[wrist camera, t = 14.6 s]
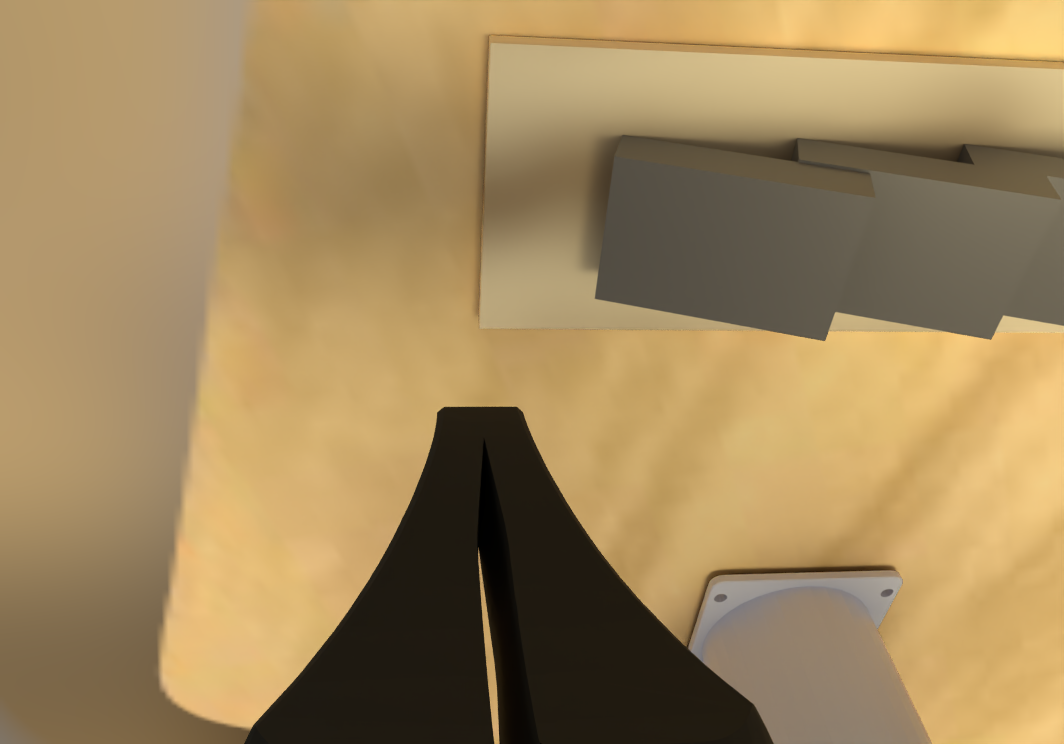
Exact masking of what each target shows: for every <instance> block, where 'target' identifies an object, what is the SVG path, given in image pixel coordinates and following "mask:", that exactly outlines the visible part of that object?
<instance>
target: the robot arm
mask: <svg viewBox="0 0 1064 744" xmlns="http://www.w3.org/2000/svg"><path fill="white" fill-rule="evenodd" d="M478 547H479V554H480V561H481V568H482V576H483V583H484V590H485V597H486V605H487V612H488V619H489V626H490V633H491V640H492V647H493V655H494V662H495V671H496V682H497V696H498V719H499V741H500V744H932V742H931V740H930V738H929V736H928V734H927V732H926V730H925V728H924V725H923V723H922V721H921V719H920V717H919V715H918V713H917V711H916V709H915V707H914V705H913V703H912V700H911V698H910V696H909V694H908V692H907V690H906V688H905V686H904V684H903V682H902V680H901V678H900V675H899V673H898V671H897V669H896V667H895V665H894V663H893V661H892V659H891V657H890V655H889V653H888V651H887V648H886V646H885V644H884V642H883V640H882V638H881V636H880V634H879V632H878V630H877V629H878V628H879V626H880V624H881V622H882V620H883V618H884V617H885V615H886V613H887V611H888V609H889V607H890V606H891V604H892V602H893V600H894V598H895V596H896V595H897V593H898V591H899V589H900V587H901V585H902V583H903V580H902V578H901V576H900V574H899V572H897V571H893V570H881V571H844V572H807V573H771V574H734V575H718V576H716V577H714V578H713V579H711V580H710V582H709V584H708V587H707V590H706V593H705V596H704V600H703V603H702V606H701V609H700V612H699V615H698V618H697V622H696V625H695V628H694V631H693V634H692V637H691V640H690V644H689V647H688V648H687V647H685V646H684V645H683V644H682V643H681V642H680V641H679V640H678V639H677V638H676V637H675V636H674V635H673V634H672V633H671V632H670V631H669V630H668V629H667V628H666V627H665V626H664V625H663V624H662V623H661V622H660V621H659V620H658V619H657V618H656V616H655V615H654V614H653V613H652V612H651V611H650V610H649V609H648V608H647V607H646V606H645V605H644V604H643V603H642V602H641V601H640V600H639V599H638V598H637V596H636V595H635V594H634V593H633V592H632V591H631V589H630V588H629V587H628V586H627V585H626V584H625V582H624V581H623V580H622V579H621V578H620V577H619V575H618V574H617V573H616V571H615V570H614V569H613V568H612V566H611V565H610V564H609V563H608V561H607V560H606V559H605V558H604V556H603V555H602V554H601V552H600V551H599V550H598V548H597V547H596V545H595V544H594V543H593V541H592V540H591V538H590V537H589V536H588V534H587V533H586V531H585V530H584V528H583V527H582V525H581V524H580V522H579V521H578V519H577V518H576V516H575V515H574V513H573V512H572V510H571V508H570V507H569V505H568V504H567V502H566V500H565V499H564V497H563V495H562V493H561V492H560V490H559V488H558V486H557V485H556V483H555V481H554V480H553V478H552V476H551V474H550V472H549V471H548V469H547V467H546V465H545V463H544V461H543V459H542V457H541V455H540V453H539V451H538V449H537V447H536V445H535V442H534V440H533V438H532V436H531V433H530V431H529V428H528V426H527V423H526V421H525V418H524V414H523V412H522V411H521V410H520V409H519V408H518V407H444V408H442V409H441V410H440V411H439V412H437V423H436V428H435V433H434V438H433V442H432V445H431V449H430V452H429V455H428V458H427V461H426V464H425V467H424V469H423V472H422V475H421V477H420V480H419V482H418V485H417V487H416V490H415V492H414V495H413V497H412V499H411V502H410V504H409V506H408V508H407V510H406V512H405V514H404V516H403V518H402V521H401V523H400V525H399V527H398V529H397V531H396V533H395V535H394V537H393V539H392V541H391V543H390V544H389V546H388V548H387V550H386V552H385V554H384V555H383V557H382V559H381V561H380V562H379V564H378V566H377V567H376V569H375V571H374V572H373V574H372V576H371V577H370V579H369V581H368V582H367V584H366V585H365V587H364V588H363V590H362V591H361V593H360V594H359V596H358V598H357V599H356V601H355V602H354V604H353V605H352V607H351V608H350V610H349V611H348V613H347V614H346V615H345V617H344V618H343V620H342V621H341V622H340V624H339V625H338V626H337V628H336V629H335V631H334V632H333V633H332V634H331V636H330V637H329V638H328V639H327V641H326V642H325V643H324V645H323V646H322V647H321V648H320V650H319V651H318V652H317V653H316V655H315V656H314V657H313V658H312V660H311V661H310V662H309V663H308V665H307V666H306V667H305V669H304V670H303V671H302V672H301V673H300V674H299V676H298V677H297V678H296V679H295V680H294V681H293V683H292V684H291V685H290V686H289V687H288V688H287V689H286V690H285V691H284V692H283V693H282V695H281V696H280V697H279V698H278V699H277V700H276V701H275V702H274V703H273V704H272V705H271V706H270V708H269V709H268V710H267V711H266V712H265V713H264V714H263V715H262V716H261V717H260V718H259V720H258V721H257V722H256V723H255V724H254V725H253V727H252V729H251V731H250V733H249V735H248V737H247V739H246V741H245V743H244V744H494V738H493V729H492V719H491V709H490V699H489V689H488V679H487V667H486V656H485V644H484V633H483V620H482V606H481V593H480V579H479V564H478Z"/></svg>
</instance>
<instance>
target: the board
mask: <svg viewBox="0 0 1064 744" xmlns="http://www.w3.org/2000/svg"><path fill="white" fill-rule="evenodd" d="M622 135H628V136H634V137H641V138H647V139H654V140H660V141H666V142H673V143H679V144H686V145H692V146H698V147H705V148H711V149H718V150H724V151H731V152H737V153H743V154H750V155H756V156H763V157H769V158H775V159H782V160H788V161H791V159H792V156H793V152H794V149H795V145H796V141H797V138H801V139H807V140H814V141H820V142H827V143H834V144H840V145H847V146H854V147H860V148H867V149H874V150H880V151H887V152H893V153H900V154H907V155H913V156H920V157H927V158H933V159H940V160H946V161H953V162H957V160H958V158H959V155H960V153H961V151H962V148H963V146H964V144H969V145H975V146H982V147H989V148H996V149H1002V150H1009V151H1016V152H1023V153H1029V154H1036V155H1043V156H1049V157H1056V158H1063V159H1064V62H1049V61H1028V60H1007V59H986V58H964V57H943V56H922V55H901V54H879V53H858V52H837V51H816V50H794V49H773V48H752V47H731V46H710V45H688V44H667V43H646V42H625V41H603V40H582V39H561V38H540V37H519V36H497V35H489V56H488V82H487V108H486V135H485V161H484V187H483V214H482V240H481V266H480V293H479V329H588V330H727V331H767V330H762V329H756V328H751V327H745V326H740V325H734V324H729V323H724V322H718V321H713V320H707V319H702V318H696V317H691V316H685V315H680V314H675V313H669V312H664V311H658V310H653V309H647V308H642V307H636V306H631V305H625V304H620V303H615V302H609V301H604V300H598V299H595V292H596V285H597V278H598V271H599V264H600V256H601V249H602V242H603V235H604V228H605V220H606V213H607V206H608V199H609V192H610V185H611V177H612V170H613V163H614V156H615V153H616V151H617V148H618V146H619V143H620V140H621V138H622ZM829 331H867V332H945V331H940V330H934V329H928V328H923V327H917V326H911V325H906V324H900V323H894V322H889V321H883V320H878V319H872V318H866V317H861V316H855V315H849V314H844V313H838V312H835V314H834V317H833V320H832V323H831V326H830V328H829ZM995 332H1006V333H1064V326H1061V325H1056V324H1050V323H1044V322H1038V321H1033V320H1027V319H1021V318H1015V317H1010V316H1004V315H1003V317H1002V319H1001V321H1000V323H999V325H998V327H997V329H996V331H995Z"/></svg>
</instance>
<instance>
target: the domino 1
mask: <svg viewBox="0 0 1064 744" xmlns="http://www.w3.org/2000/svg"><path fill="white" fill-rule="evenodd" d="M875 199H876V197H875V193H874V188H873V184H872V180H871V175H870V173H865V172H859V171H852V170H846V169H840V168H833V167H827V166H820V165H814V164H808V163H801V162H795V161H788V160H782V159H775V158H769V157H763V156H756V155H750V154H743V153H737V152H731V151H724V150H718V149H711V148H705V147H698V146H692V145H686V144H679V143H673V142H666V141H660V140H654V139H647V138H641V137H634V136H628V135H622V138H621V140H620V143H619V146H618V148H617V151H616V153H615V156H614V163H613V170H612V177H611V185H610V192H609V199H608V206H607V213H606V220H605V228H604V235H603V242H602V249H601V256H600V264H599V271H598V278H597V285H596V292H595V299H598V300H604V301H609V302H615V303H620V304H625V305H631V306H636V307H642V308H647V309H653V310H658V311H664V312H669V313H675V314H680V315H685V316H691V317H696V318H702V319H707V320H713V321H718V322H724V323H729V324H734V325H740V326H745V327H751V328H756V329H762V330H767V331H773V332H778V333H784V334H789V335H794V336H800V337H805V338H811V339H816V340H822V341H825V340H826V337H827V334H828V331H829V328H830V326H831V323H832V320H833V317H834V314H835V312H836V309H837V306H838V303H839V300H840V297H841V295H842V292H843V289H844V286H845V283H846V281H847V278H848V275H849V272H850V269H851V266H852V264H853V261H854V258H855V255H856V252H857V249H858V247H859V244H860V241H861V238H862V235H863V233H864V230H865V227H866V224H867V221H868V218H869V216H870V213H871V210H872V207H873V204H874V202H875Z"/></svg>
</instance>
